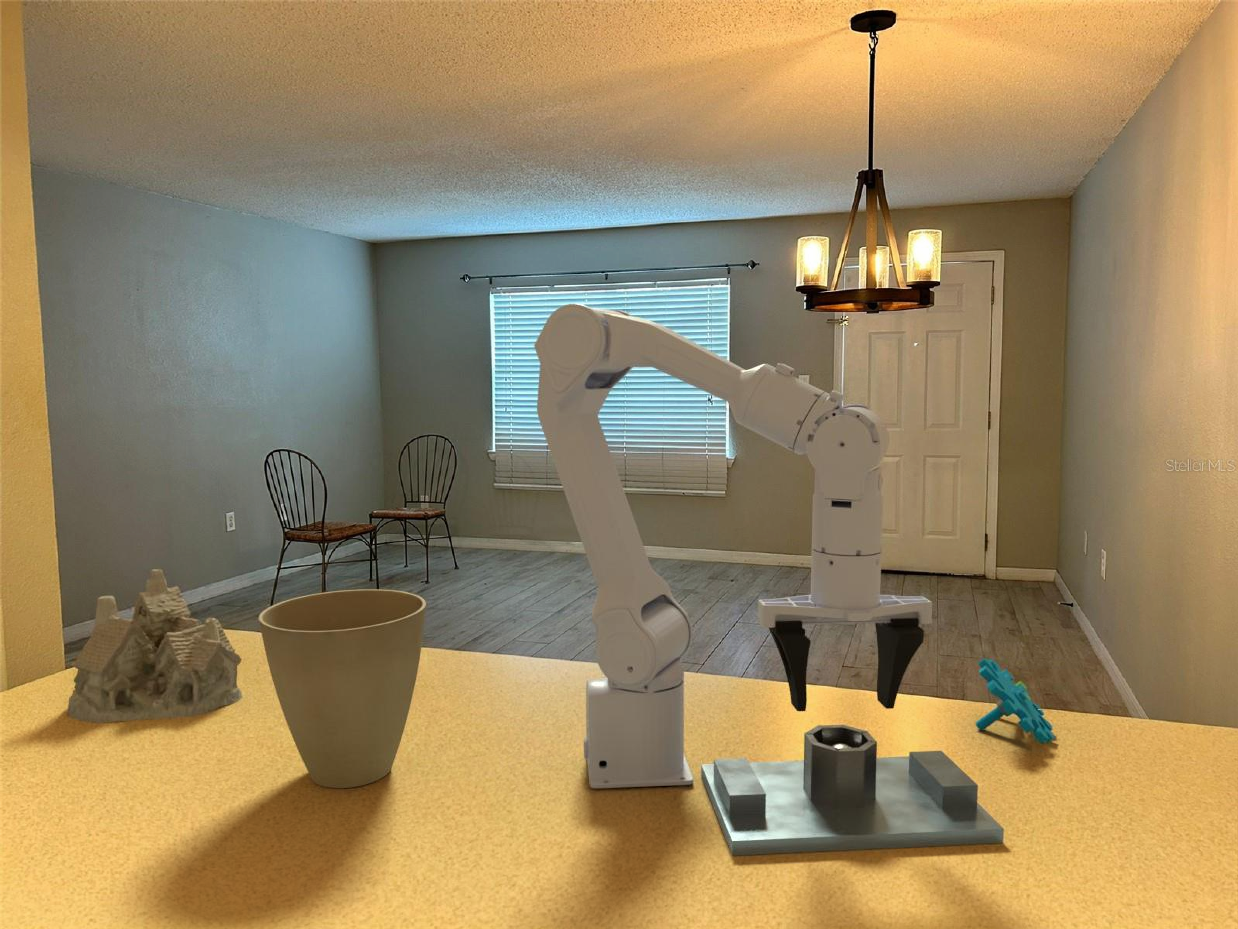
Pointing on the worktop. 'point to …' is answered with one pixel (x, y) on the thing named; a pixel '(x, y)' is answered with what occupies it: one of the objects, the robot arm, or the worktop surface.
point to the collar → (840, 766)
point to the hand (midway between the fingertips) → (842, 706)
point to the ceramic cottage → (153, 661)
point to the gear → (1012, 702)
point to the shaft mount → (897, 818)
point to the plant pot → (345, 677)
